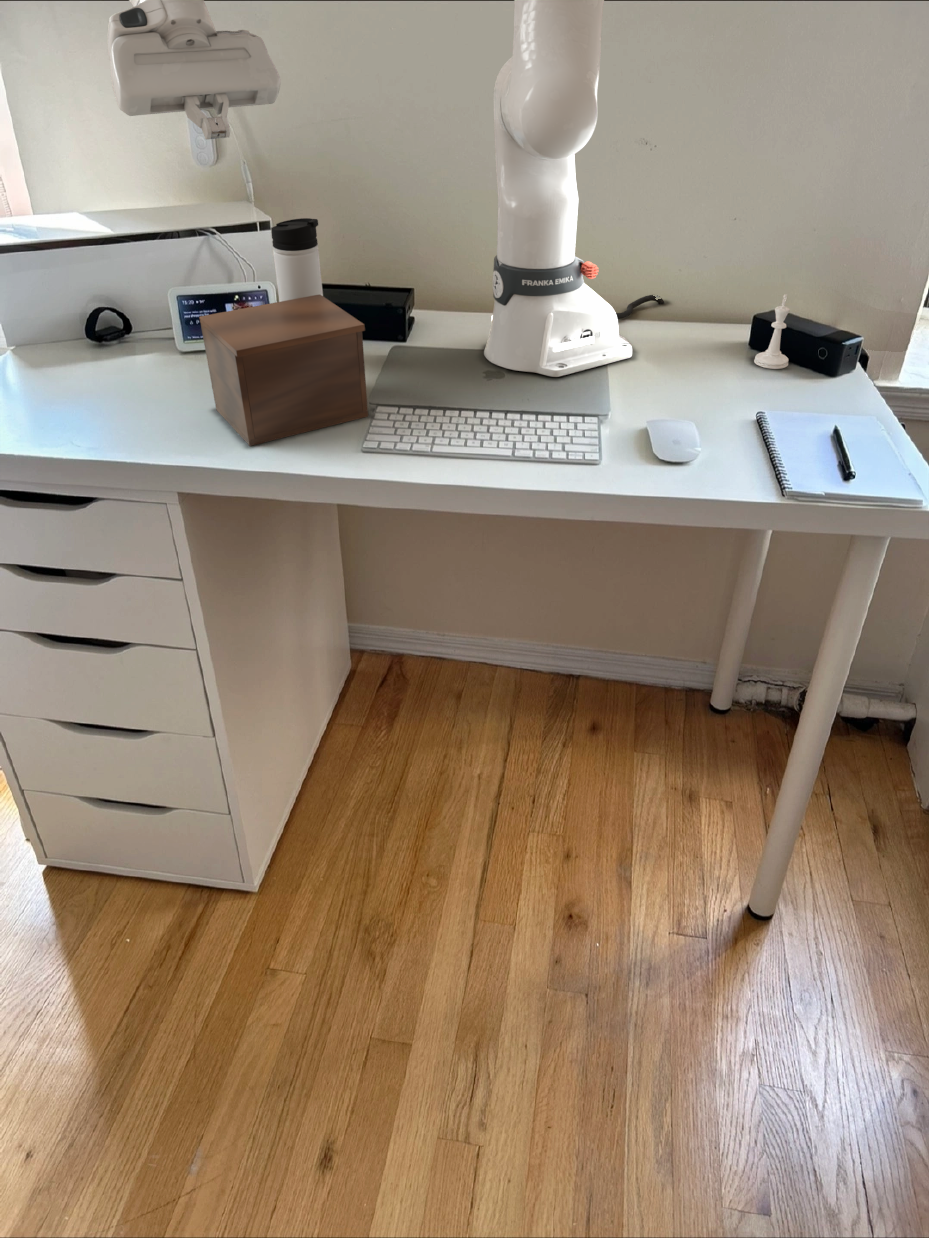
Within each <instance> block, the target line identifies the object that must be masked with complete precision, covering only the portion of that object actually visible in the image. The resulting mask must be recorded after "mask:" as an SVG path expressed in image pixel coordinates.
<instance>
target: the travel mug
mask: <svg viewBox="0 0 929 1238" xmlns="http://www.w3.org/2000/svg"><path fill="white" fill-rule="evenodd" d="M318 226H319V220H318V218H311V217H309V218H308V217H301V218H293V219H288V220H284V221H283V220H282V221H280V222H278V223H276V224H275V225H274V226H272V227H271V228H270V231H271V232H270V233H271V239H272V241H271V243H272V247H271V248H272V250H273V252H272V254H273V261H274V270H275V277H276V278H275V279H276V284H277V285H276V286H277V294H278V302H281V301H287V300H292V299H297V298H303V297H308V296H314V295H319V294H320V295H322V296H323V297H324V291H323V280H322V272H321V261H320V250H319V242H318V238H317V236H318V233H317V227H318Z"/></svg>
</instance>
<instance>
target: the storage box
mask: <svg viewBox="0 0 929 1238" xmlns="http://www.w3.org/2000/svg"><path fill="white" fill-rule="evenodd" d="M200 327H201V328H200V329H201V333H202V334H201V335H202V339H203V344H204V350H205V356H206V361H207V367H208V372H209V377H210V383H211V389H212V394H213V400H214V405H215V410H216V411H217V413H219V415H220V416H222V418H223V419H224V420H225V421H226V422H227V423H228V425H230V426H231V428H232V429H233V430H234V431H235V432H236V433H237V434H238V436H240V438H241V439H243V440H244V441H245V443H246V444H247V445H248V446H249V447H252V446H256V445H261V444H264V443H269V442H272V441H276V440H280V439H283V438H287V437H291V436H296V435H300V434H304V433H307V432H312V431H315V430H320V429H325V428H327V427H332V426H335V425H336V426H337V425H339V424H343V423H347V422H352V421H355V420H360V419H363V418H367V417H369V410H368V409H369V408H368V407H369V406H368V395H367V382H366V381H367V380H366V379H367V378H366V367H365V353H364V339H363V331H361V332H356V333H351V334H346V335H341V336H337V337H332V338H327V339H322V340H317V341H313V342H308V343H303V344H298V345H293V346H288V347H284V348H279V349H274V350H269V351H264V352H260V353H255V354H250V355H245V356H240V357H237V356H236V355H235V354H234V353H232V352H231V351H230V350H229V349H228V348H227V347H226V346H225V345H224V344H223V343H222V342H221V341H220V340H219V339H217V338H216V337H215V336H214V335H213V334H212V333H211V332H210V331H209V330H208V329H207V328H206V327H205V326H204V325H202V324H201V323H200Z"/></svg>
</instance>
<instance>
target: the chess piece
mask: <svg viewBox="0 0 929 1238" xmlns="http://www.w3.org/2000/svg"><path fill="white" fill-rule="evenodd" d="M787 297H788V294H783V297H782V300H781V305H778V306H776V307H775V308H774V312H775V313H774V314H775V321H773V322H772V323H771V326H770V327H772V328H774V330H773V333H772V337H771V339H770V342H769V345H768V348H767V349H766V350H765V351H762V352H759V353H756V355H755V356H754V359H753V362H754V364H755V365H757V366H759V367H761V368H764V369H769V370H770V369H771V370H780V369H785V368H787V367H788V366H789V358H788V357H787V356H786V355H785V354H783V353H782V351H781V350H780V349H781V340H782V339H781V338H782V337H781V336H782V330H783V329H786V328H787V323H785V322H784V321H785V320H786V318H787V316H788V314H789V313H790V308H789V307H788V306H786V302H787V299H788V298H787Z"/></svg>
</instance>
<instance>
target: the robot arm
mask: <svg viewBox="0 0 929 1238" xmlns="http://www.w3.org/2000/svg"><path fill="white" fill-rule="evenodd" d="M128 1H129V2H130V3H131V5H132V7H129V8H126V9H124V10H120V11H118V12H115V13H113V14H112V15H111V16H109V20H108V25H107V36H106V37H107V38H106V41H107V43H106V44H107V53H108V54H107V55H108V60H109V62H110V81H111V86H112V90H113V94H114V98H115V102H116V104H117V107H118V109H119V110H120V111H122V112H123V113H124V114H125V115H127V116H129V117H137V116H146V115H158V114H170V113H180V112H181V113H182V112H185V114H186V117H187V118H188V119H189V120H190V121H191V122H192V123H194V124H195V125H196V126H197V127H198V128H199V129H201V132H202V133H203V137H204V139H205V140H216V139H225V138H230V136H231V127H230V123H229V121H228V114H229V113H228V112H229V108H238V107H239V108H240V107H249V106H250V107H253V106H265V105H273V104H275V102H276V101H277V98H278V96H279V94H280V90H281V84H282V79H281V77H280V74H279V71H278V69H277V68H276V65H275V63H274V61H273V60H272V58H271V56H270V54H269V52H268V49H267V46H266V43H265V41H264V39H263V38H262V37H261V36H259V35H256V34H254V33H251V32H250V30H248V29H238V30H216V28H215V25H214V23H213V19H212V18H211V15H210V12H209V10H208V7H207V5H206V2H205V0H128ZM513 2H514V10H513V11H514V12H513V13H514V14H513V41H512V56H511V57H510V58H509V59H508V60H507V61H506V62H505V63H504V64H503V65H502V67H501V69H500V70H499V72H498V74H497V75H496V79H495V82H494V87H493V129H494V131H493V133H494V154H495V155H494V157H495V173H496V186H497V187H496V188H497V231H496V232H497V233H496V234H497V235H496V255H495V256H494V257H493V268H492V269H493V270H492V271H493V272H492V293H493V294H492V297H493V299H494V301H493V310H492V315H491V319H490V320H491V323H490V327H489V334H488V338H487V340H486V344H485V348H484V350H483V355H484V357H485V359H487V360H488V362H490V363H491V364H494V365H496V366H498V367H501V368H504V369H508V370H512V371H517V372H518V371H519V372H527V373H536V374H539V375H543V376H547V377H551V378H559V377H564V376H566V375H570V374H574V373H578V372H582V371H585V370H589V369H593V368H596V367H601V366H604V365H608V364H611V363H616V362H620V361H623V360H626V359H630V358H632V356H633V346H632V344H631V343H630V342H629V340H628V339H627V338H625V337H624V336H623V334H621V333H619V330H620V329H619V320H621V319H625V318H628V317H630V316H631V315H632V314H633V312H634V309H635V308H637V307H638V306H641V305H642V304H644V303H648V302H656V303H657V304H658V305H664V304H665V300H664V299H663V297H661V299H658V300H656V299H655V298H656V297H655V296H653V295H654V294H649V295H645V296H642V297H640V298H638V299H636V300H634V301H632V302H630V303H629V304H628V305H627V306H626V310H625V311H622V312H616V311H615V309H614V308H613V306H612V305H611V304H610V303H608V302H607V301H606V300H605V299H604V298H603V297H601V296H600V295H599V294H598V293H597V292H596V291H594V290H593V289H592V288H591V287H590V286H588V285H587V284H586V283H585V280H584V277H586V278H587V279H590V280H593V279H595V278H596V277H597V275H599V267H598V266H597V265H596V264H595V263H592V262H591V261H584V260H583V259H582V258H579V257H577V256H576V254H575V253H576V241H577V226H578V212H579V211H578V210H579V193H578V187H577V177H576V161H575V160H576V158H575V156H576V155H575V154H577V153H578V152H579V151H581V150H582V149H583V148H584V147H585V146H586V145H587V144H588V143H589V141H590V139H591V138H592V136H593V134H594V132H595V129H596V126H597V121H598V115H599V114H598V112H599V110H598V89H599V88H598V87H599V79H600V67H601V56H602V55H601V54H602V53H601V52H602V34H603V33H602V32H603V16H604V5H605V0H513ZM204 110H206V111H207V110H214V112H215V114H216V116H214V117H212V116H211V117H208V115H206V114H205V113H204V112H203V111H204ZM217 115H219V116H217Z"/></svg>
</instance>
